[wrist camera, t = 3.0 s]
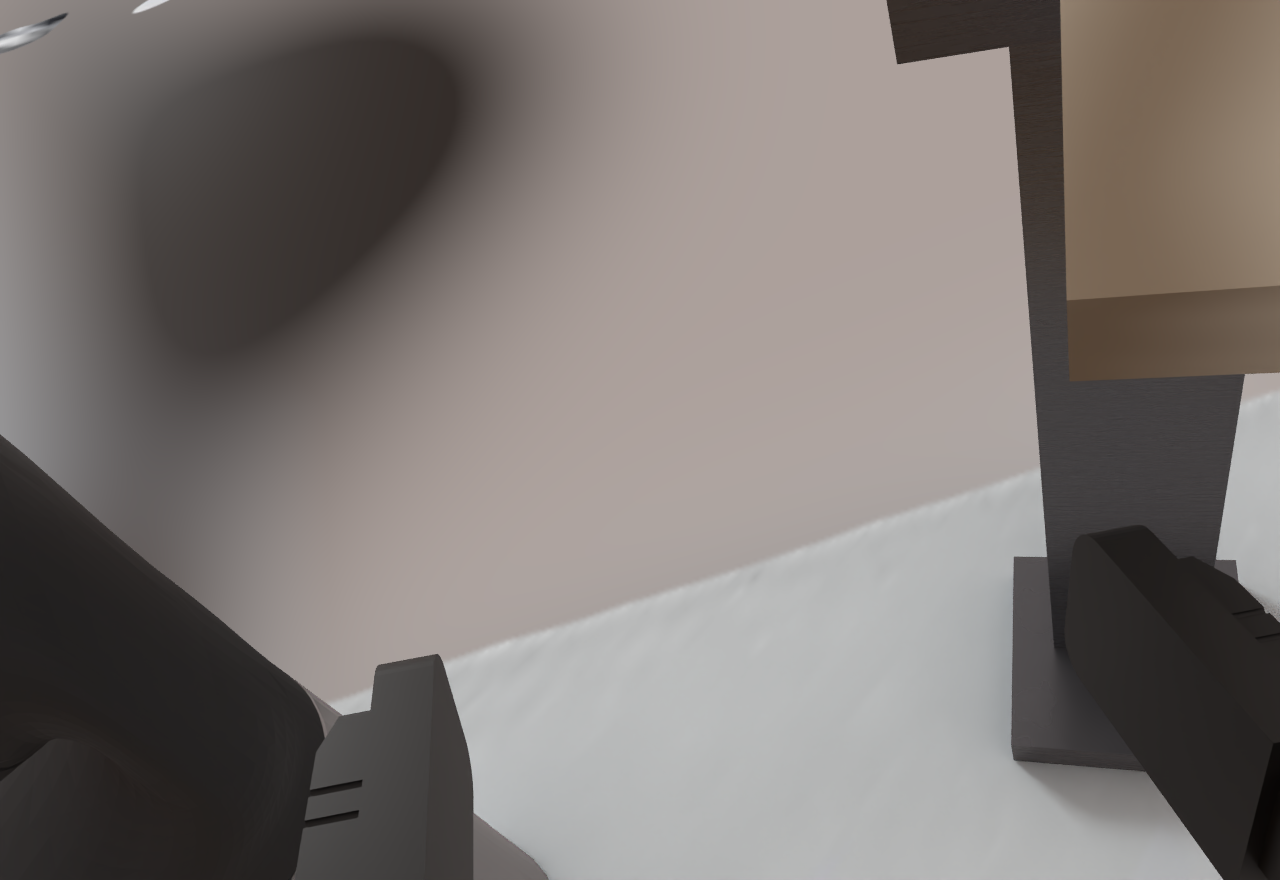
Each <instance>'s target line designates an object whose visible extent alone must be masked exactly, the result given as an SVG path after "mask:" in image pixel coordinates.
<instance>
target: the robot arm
mask: <svg viewBox="0 0 1280 880" xmlns="http://www.w3.org/2000/svg"><path fill="white" fill-rule="evenodd" d="M1064 631H1065V642H1066V647H1067V651H1068V655H1069V658H1070V661H1071V664H1072V666H1073V668H1074V670H1075V672H1076V674H1077V676H1078V677H1079V679H1080V680H1081V682H1082V683H1083V685H1084V686H1085V687H1086V689H1087V690H1088V691H1089V693H1090V694H1091V696H1092V697H1093V698H1094V700H1095V701H1096V703H1097V704H1098V705H1099V707H1100V708H1101V710H1102V711H1103V712H1104V714H1105V715H1106V717H1107V718H1108V719H1109V721H1110V722H1111V724H1112V725H1113V726H1114V728H1115V729H1116V731H1117V732H1118V733H1119V735H1120V736H1121V738H1122V739H1123V740H1124V742H1125V743H1126V744H1127V746H1128V747H1129V749H1130V750H1131V751H1132V753H1133V754H1134V756H1135V757H1136V758H1137V760H1138V761H1139V763H1140V764H1141V765H1142V767H1143V768H1144V770H1145V771H1146V772H1147V774H1148V775H1149V777H1150V778H1151V779H1152V781H1153V782H1154V784H1155V785H1156V786H1157V788H1158V789H1159V791H1160V792H1161V793H1162V795H1163V796H1164V797H1165V799H1166V800H1167V802H1168V803H1169V804H1170V806H1171V807H1172V809H1173V810H1174V811H1175V813H1176V814H1177V816H1178V817H1179V818H1180V820H1181V821H1182V823H1183V824H1184V825H1185V827H1186V828H1187V830H1188V831H1189V832H1190V834H1191V835H1192V837H1193V838H1194V839H1195V841H1196V842H1197V844H1198V845H1199V846H1200V848H1201V849H1202V850H1203V852H1204V853H1205V855H1206V856H1207V857H1208V859H1209V860H1210V862H1211V863H1212V864H1213V866H1214V867H1215V869H1216V870H1217V871H1218V873H1219V874H1220V876H1221V877H1222V878H1223V880H1280V623H1279V622H1278V621H1277V620H1276V619H1275V618H1274V617H1273V616H1272V615H1271V614H1270V613H1268V614H1266V613H1265V611H1264V607H1263V606H1262V605H1261V604H1260V603H1259V602H1258V601H1257V600H1256V599H1255V598H1254V597H1253V596H1252V595H1251V594H1250V593H1249V592H1248V591H1247V590H1246V589H1245V588H1244V587H1243V586H1242V585H1241V584H1240V583H1238V582H1237V581H1236V580H1235V579H1234V578H1233V577H1231V576H1229V575H1227V574H1225V573H1223V572H1221V571H1219V570H1218V569H1216V568H1214V567H1212V566H1210V565H1208V564H1206V563H1204V562H1203V561H1201V560H1199V559H1197V558H1195V557H1193V556H1191V557H1185V558H1180V559H1178V558H1177V557H1176V556H1175V555H1174V554H1173V553H1172V552H1171V551H1170V550H1169V549H1168V548H1167V547H1166V546H1165V545H1164V544H1163V543H1162V542H1161V541H1160V540H1159V539H1158V538H1157V537H1156V536H1155V535H1154V533H1153V532H1152V531H1150V530H1149V529H1148V528H1147V527H1145V526H1143V525H1132V526H1126V527H1121V528H1116V529H1110V530H1105V531H1100V532H1094V533H1089V534H1084V535H1080V536H1079V537H1078V538H1077V539H1076V541H1075V543H1074V546H1073V551H1072V561H1071V570H1070V580H1069V589H1068V599H1067V608H1066V618H1065V630H1064ZM0 880H549V879H548V877H547V875H546V874H545V873H544V872H543V870H542V869H541V868H540V867H539V865H538V864H537V863H536V862H535V860H534V859H533V858H531V857H530V856H529V855H528V854H526V853H525V852H524V851H522V850H521V849H520V848H518V847H517V846H516V845H514V844H513V843H512V842H511V841H509V840H508V839H507V838H505V837H504V836H503V835H501V834H500V833H499V832H497V831H496V830H495V829H493V828H492V827H491V826H490V825H489V824H488V823H486V822H485V821H484V820H482V819H481V818H480V817H478V816H477V815H476V814H474V813H473V781H472V771H471V764H470V758H469V753H468V748H467V743H466V740H465V736H464V733H463V729H462V726H461V723H460V719H459V716H458V712H457V709H456V705H455V702H454V699H453V695H452V692H451V688H450V685H449V682H448V678H447V675H446V671H445V668H444V665H443V662H442V660H441V657H440V656H439V655H438V654H435V655H430V656H424V657H419V658H413V659H408V660H403V661H397V662H392V663H387V664H381V665H378V666H377V668H376V671H375V676H374V685H373V694H372V702H371V710H370V711H365V712H360V713H354V714H349V715H344V716H343V715H341V714H340V713H339V712H337V711H336V710H335V709H333V708H332V707H331V706H329V705H328V704H327V703H325V702H324V701H322V700H321V699H320V698H318V697H317V696H316V695H314V694H313V693H312V692H310V691H309V690H308V689H306V688H305V687H304V686H302V685H301V684H300V683H298V682H297V681H296V680H294V679H293V678H291V677H290V676H289V675H287V674H286V673H285V672H283V671H282V670H281V669H279V668H278V667H276V666H275V665H274V664H272V663H271V662H270V661H268V660H267V659H266V658H265V657H264V656H262V655H261V654H260V653H259V652H257V651H256V650H255V649H254V648H253V647H251V646H250V645H249V644H248V643H247V642H246V641H244V640H243V639H242V638H241V637H240V636H238V635H237V634H236V633H235V632H234V631H233V630H232V629H230V628H229V627H228V626H227V625H226V624H225V623H223V622H222V621H221V620H220V619H219V618H218V617H216V616H215V615H214V614H212V613H211V612H210V611H209V610H208V609H207V608H205V607H204V606H203V605H202V604H200V603H199V602H198V601H197V600H195V599H194V598H193V597H192V596H190V595H189V594H188V593H186V592H185V591H184V590H183V589H182V588H180V587H179V586H178V585H176V584H175V583H174V582H173V581H171V580H170V579H169V578H167V577H166V576H165V575H163V574H162V573H161V572H160V571H158V570H157V569H156V568H154V567H153V566H152V565H151V564H149V563H148V562H147V561H146V560H145V559H143V558H142V557H141V556H140V555H139V554H138V553H136V552H135V551H134V550H133V549H132V548H131V547H129V546H128V545H127V544H126V543H124V542H123V541H122V540H121V539H120V538H119V537H117V536H116V535H115V534H114V533H113V532H111V531H110V530H109V529H108V528H107V527H106V526H105V525H103V524H102V523H101V522H100V521H99V520H98V519H97V518H96V517H94V516H93V515H92V514H91V513H90V512H89V511H88V510H87V509H85V508H84V507H83V506H82V505H81V504H80V503H79V502H77V501H76V500H75V499H74V498H73V497H72V496H71V495H70V494H68V492H66V491H65V490H64V489H63V488H62V487H61V486H60V485H58V484H57V483H56V482H55V481H54V480H53V479H52V478H51V477H49V476H48V475H47V474H46V473H45V472H44V471H43V470H42V469H40V468H39V467H38V466H37V465H36V464H35V463H34V462H33V461H31V460H30V459H29V458H28V457H27V456H26V455H25V454H23V453H22V452H21V451H20V450H18V449H17V448H16V447H15V446H14V445H12V444H11V443H10V442H9V441H8V440H6V439H5V438H4V437H3V436H1V435H0Z"/></svg>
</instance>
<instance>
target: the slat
mask: <svg viewBox="0 0 1280 880" xmlns="http://www.w3.org/2000/svg"><path fill="white" fill-rule="evenodd" d="M1060 15H1061V62H1062V108H1063V154H1064V201H1065V247H1066V293H1067V324H1068V353H1069V381H1092V380H1115V379H1139V378H1162V377H1185V376H1208V375H1232V374H1255V373H1277V372H1280V0H1060Z"/></svg>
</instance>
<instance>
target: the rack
mask: <svg viewBox="0 0 1280 880" xmlns="http://www.w3.org/2000/svg"><path fill="white" fill-rule="evenodd" d="M887 6H888V11H889V18H890V23H891V29H892V35H893V41H894V48H895V53H896V59H897V64H902V63H908V62H915V61H921V60H927V59H934V58H940V57H947V56H953V55H959V54H965V53H972V52H978V51H985V50H990V49H997V48H1003V47H1009V52H1010V64H1011V79H1012V91H1013V105H1014V117H1015V118H1014V119H1015V132H1016V145H1017V159H1018V172H1019V186H1020V197H1021V212H1022V225H1023V237H1024V238H1023V239H1024V251H1025V252H1024V253H1025V266H1026V279H1027V292H1028V306H1029V319H1030V333H1031V346H1032V360H1033V373H1034V385H1035V400H1036V413H1037V426H1038V440H1039V453H1040V467H1041V480H1042V493H1043V507H1044V520H1045V534H1046V547H1047V557H1014V589H1013V664H1012V739H1011V746H1012V752H1013V758H1014V760H1019V761H1031V762H1042V763H1054V764H1066V765H1078V766H1090V767H1101V768H1113V769H1125V770H1137V771H1145V770H1144V768H1143V767H1142V765H1141V764H1140V763H1139V761H1138V760H1137V758H1136V757H1135V756H1134V754H1133V753H1132V751H1131V750H1130V749H1129V747H1128V746H1127V744H1126V743H1125V742H1124V740H1123V739H1122V738H1121V736H1120V735H1119V733H1118V732H1117V731H1116V729H1115V728H1114V726H1113V725H1112V724H1111V722H1110V721H1109V719H1108V718H1107V717H1106V715H1105V714H1104V712H1103V711H1102V710H1101V708H1100V707H1099V705H1098V704H1097V703H1096V701H1095V700H1094V698H1093V697H1092V696H1091V694H1090V693H1089V691H1088V690H1087V689H1086V687H1085V686H1084V685H1083V683H1082V682H1081V680H1080V679H1079V677H1078V676H1077V674H1076V672H1075V670H1074V668H1073V666H1072V664H1071V661H1070V658H1069V655H1068V651H1067V647H1066V642H1065V631H1064V630H1065V618H1066V608H1067V599H1068V589H1069V580H1070V570H1071V561H1072V551H1073V546H1074V543H1075V541H1076V539H1077V538H1078V537H1079V536H1080V535H1084V534H1089V533H1094V532H1100V531H1105V530H1110V529H1116V528H1121V527H1126V526H1132V525H1143V526H1145V527H1147V528H1148V529H1149V530H1150V531H1152V532H1153V533H1154V535H1155V536H1156V537H1157V538H1158V539H1159V540H1160V541H1161V542H1162V543H1163V544H1164V545H1165V546H1166V547H1167V548H1168V549H1169V550H1170V551H1171V552H1172V553H1173V554H1174V555H1175V556H1176V557H1177V558H1178V559H1180V558H1185V557H1191V556H1193V557H1195V558H1197V559H1199V560H1201V561H1203V562H1204V563H1206V564H1208V565H1210V566H1212V567H1214V568H1216V569H1218V570H1219V571H1221V572H1223V573H1225V574H1227V575H1229V576H1231V577H1233V578H1234V579H1235V580H1236V581H1237V582H1238V574H1237V566H1236V560H1216V553H1217V547H1218V541H1219V534H1220V528H1221V522H1222V515H1223V509H1224V503H1225V496H1226V490H1227V484H1228V477H1229V471H1230V465H1231V458H1232V452H1233V446H1234V439H1235V433H1236V427H1237V420H1238V414H1239V408H1240V401H1241V395H1242V389H1243V382H1244V376H1245V374H1232V375H1208V376H1185V377H1162V378H1139V379H1115V380H1092V381H1069V353H1068V324H1067V293H1066V247H1065V201H1064V154H1063V108H1062V62H1061V15H1060V0H887Z"/></svg>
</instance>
